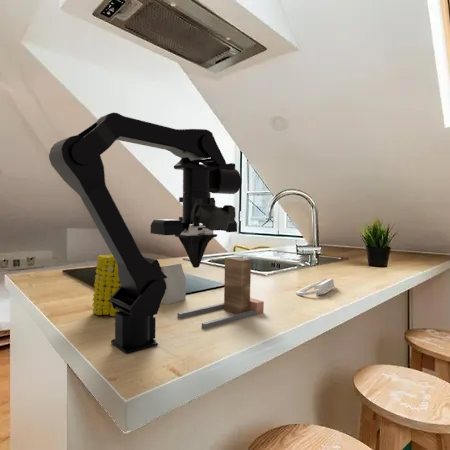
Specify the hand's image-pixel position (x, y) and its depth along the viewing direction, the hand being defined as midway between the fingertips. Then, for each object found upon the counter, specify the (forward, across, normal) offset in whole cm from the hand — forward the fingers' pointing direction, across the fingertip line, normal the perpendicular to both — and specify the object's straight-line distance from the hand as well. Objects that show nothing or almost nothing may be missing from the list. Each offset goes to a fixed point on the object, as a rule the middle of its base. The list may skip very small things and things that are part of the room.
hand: (195, 267), depth 76 cm
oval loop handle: (+14, +50, +4) cm, 52 cm away
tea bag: (+13, +8, +21) cm, 26 cm away
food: (+13, -8, +21) cm, 26 cm away
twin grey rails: (+13, +10, +3) cm, 17 cm away
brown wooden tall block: (+13, +15, +3) cm, 20 cm away
